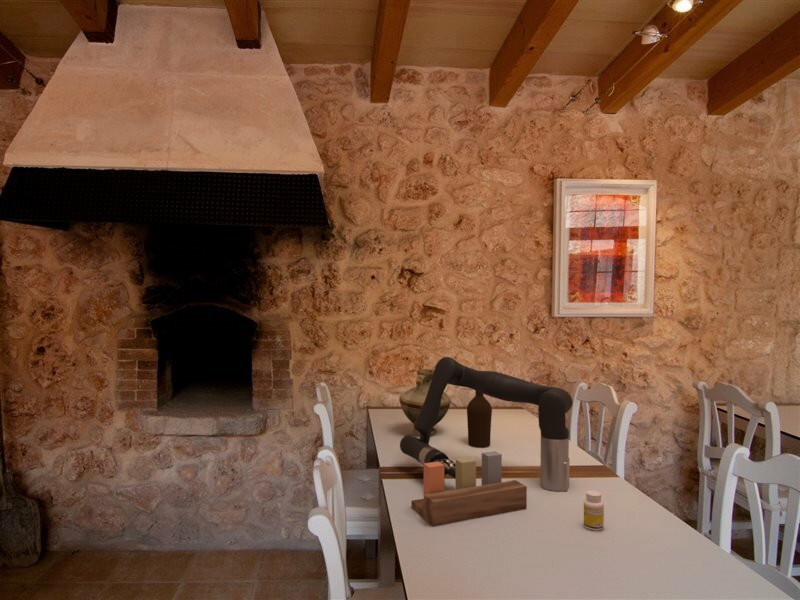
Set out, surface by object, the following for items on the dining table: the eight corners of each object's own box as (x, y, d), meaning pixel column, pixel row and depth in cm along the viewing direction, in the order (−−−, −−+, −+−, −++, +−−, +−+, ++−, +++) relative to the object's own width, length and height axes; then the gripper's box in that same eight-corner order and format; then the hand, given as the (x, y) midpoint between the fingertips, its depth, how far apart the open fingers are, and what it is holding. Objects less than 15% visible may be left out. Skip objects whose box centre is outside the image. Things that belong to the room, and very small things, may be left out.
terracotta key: (423, 502, 169) (423, 463, 168) (438, 500, 171) (438, 461, 170) (429, 507, 165) (429, 467, 165) (444, 504, 167) (444, 465, 167)
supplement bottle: (587, 521, 161) (588, 488, 161) (606, 526, 157) (606, 492, 157) (580, 527, 157) (580, 493, 156) (599, 533, 153) (600, 498, 153)
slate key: (481, 489, 180) (481, 452, 179) (494, 487, 182) (494, 451, 181) (488, 493, 176) (488, 456, 176) (501, 491, 178) (501, 454, 178)
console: (411, 507, 171) (411, 484, 171) (499, 492, 184) (499, 471, 183) (433, 526, 157) (433, 502, 157) (526, 508, 170) (526, 486, 170)
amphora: (404, 443, 243) (410, 377, 240) (391, 425, 266) (396, 364, 262) (454, 442, 249) (460, 377, 246) (437, 424, 272) (442, 364, 269)
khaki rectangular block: (455, 497, 173) (455, 459, 173) (469, 494, 175) (469, 457, 175) (461, 501, 169) (461, 462, 169) (475, 499, 171) (476, 460, 171)
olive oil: (479, 449, 231) (480, 390, 230) (461, 444, 239) (461, 386, 239) (496, 445, 238) (497, 387, 237) (478, 439, 246) (478, 384, 245)
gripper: (416, 451, 189) (439, 466, 174) (450, 446, 195) (475, 461, 179) (416, 472, 190) (439, 490, 174) (450, 467, 195) (475, 484, 179)
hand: (457, 475), depth 176 cm, fingers closed
